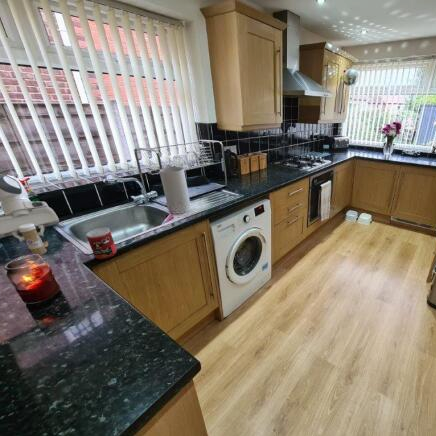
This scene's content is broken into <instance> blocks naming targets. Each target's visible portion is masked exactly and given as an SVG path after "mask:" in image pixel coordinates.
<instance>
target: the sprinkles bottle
mask: <svg viewBox="0 0 436 436" xmlns="http://www.w3.org/2000/svg"><path fill="white" fill-rule="evenodd" d="M18 228H19V231H20V232H21V233H20V234H21V235H22V236H23V237H24V239H25V240H26V241H25V243H26V245H27V247H28V249H29V250H30V252H31V254H32V255H33V254H40V255H39V256H42V255H45V254H46V253H47V251H48V250H47V249H46V247H44V244H43V242H44V241H42V237H39V234H38V231H37V229H36V227H35V225H34V224H32V223H29V224H24V225H21V226H19V227H18Z"/></svg>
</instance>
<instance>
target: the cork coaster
mask: <svg viewBox="0 0 436 436" xmlns="http://www.w3.org/2000/svg"><path fill="white" fill-rule="evenodd" d="M42 242H43V244H44V247H45V248H49V241H48V240H46V241H42Z"/></svg>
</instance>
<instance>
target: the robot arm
mask: <svg viewBox="0 0 436 436" xmlns="http://www.w3.org/2000/svg"><path fill="white" fill-rule="evenodd" d="M0 204H1V205H0V206H1V209H2V211H3V213H2V214H0V239H2V238H7V237H9V236H13V238H16V239H18V240H19V242H20V243H24V242H25V243H26V240H25V239H24V237H23V235H22V236H20V234H22V233H21V232H20V231H19V228H18V227H19V226H21V225H24V224H29V223H32V224H34V225H35V227H36V230H38V229H39V230H40V231H39V232H38V231H37V233H38V234H39V237H40V238H43V237H45V234H44V232H45V229H46V227H50V226H53V225H58V224H59V223H60V219H59V217H58V215H57V214H56V212H55V211H54V209H53V208H52V207H49V205H48V203H47V202H46V201H31V199H29V194H28V191H27V190H26V188H25V186H24V185H23V183H22V182H21V181H20V179H18V178H17V177H16V176H13V175H9V174H3V173H0Z"/></svg>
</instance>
